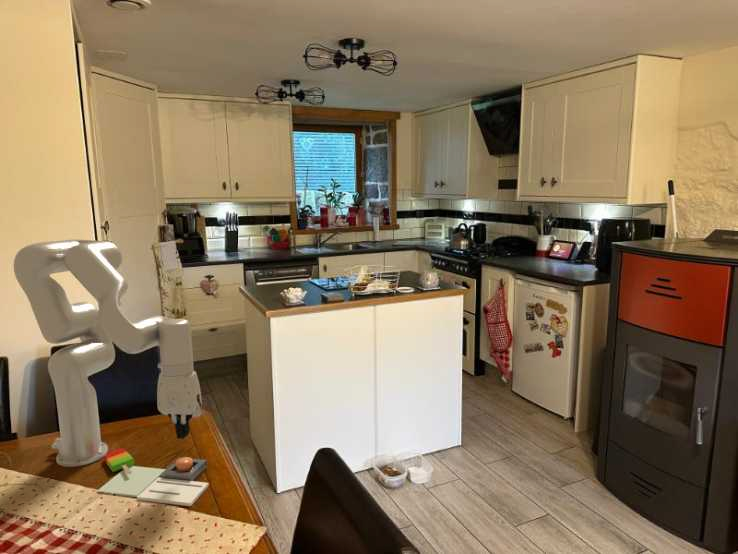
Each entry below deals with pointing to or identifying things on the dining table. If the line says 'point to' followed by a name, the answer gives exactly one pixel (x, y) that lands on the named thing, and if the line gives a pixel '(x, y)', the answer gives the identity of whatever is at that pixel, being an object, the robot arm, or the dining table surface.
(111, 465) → the popsicle
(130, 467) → the mat
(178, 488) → the paper board
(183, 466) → the button
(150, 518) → the dining table surface
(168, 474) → the button housing
